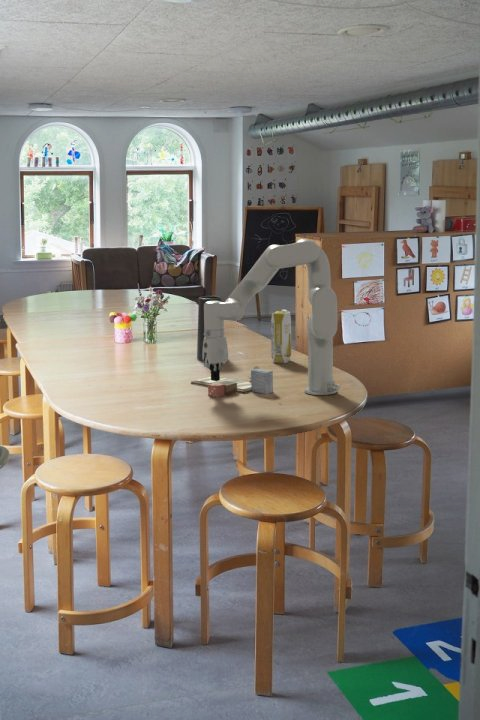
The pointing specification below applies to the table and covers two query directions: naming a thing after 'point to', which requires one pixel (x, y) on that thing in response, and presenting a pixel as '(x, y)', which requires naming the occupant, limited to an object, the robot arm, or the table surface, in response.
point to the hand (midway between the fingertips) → (215, 380)
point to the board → (241, 385)
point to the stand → (229, 387)
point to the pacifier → (254, 369)
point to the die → (216, 389)
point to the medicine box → (262, 381)
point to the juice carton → (281, 336)
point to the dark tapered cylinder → (201, 323)
